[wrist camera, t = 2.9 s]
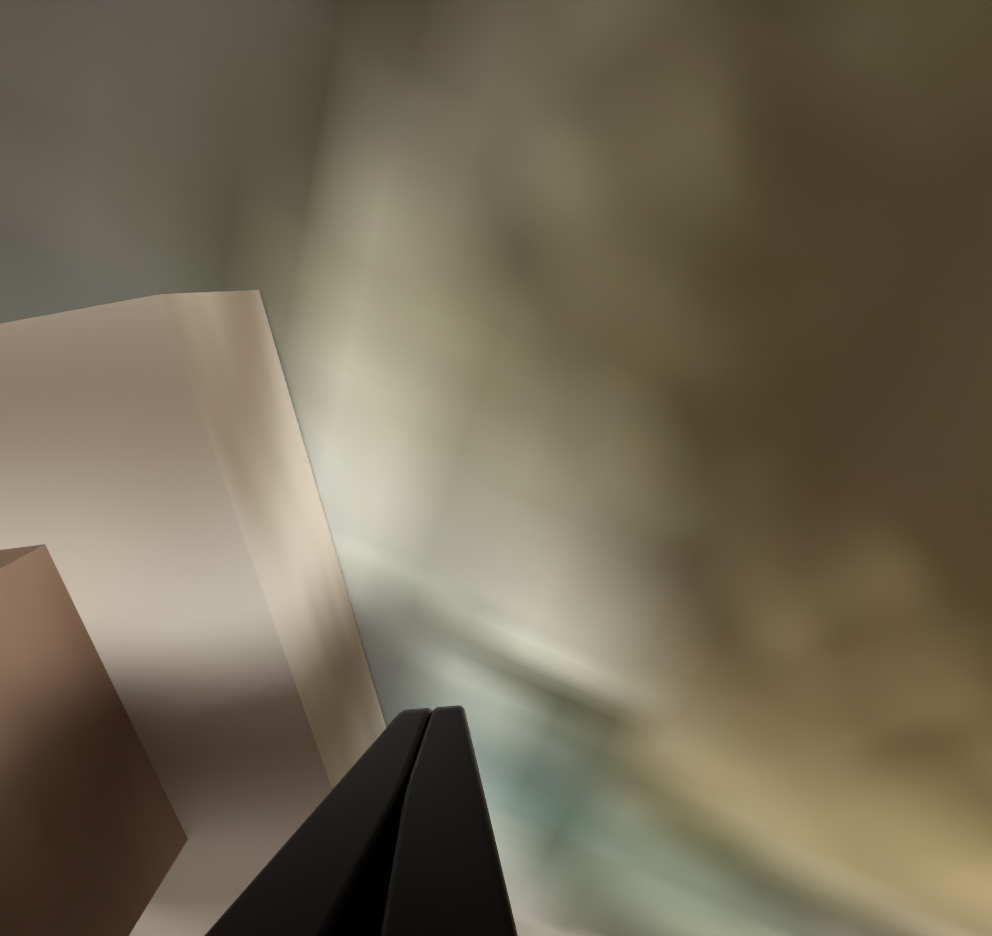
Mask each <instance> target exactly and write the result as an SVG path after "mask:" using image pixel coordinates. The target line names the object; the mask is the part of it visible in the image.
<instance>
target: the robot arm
mask: <svg viewBox="0 0 992 936" xmlns="http://www.w3.org/2000/svg"><path fill="white" fill-rule="evenodd" d="M204 936H518V935H517V931H516V926H515V922H514V918H513V914H512V909H511V905H510V901H509V897H508V893H507V888H506V884H505V880H504V876H503V871H502V867H501V863H500V859H499V854H498V850H497V846H496V842H495V837H494V833H493V829H492V825H491V820H490V816H489V812H488V808H487V803H486V799H485V795H484V791H483V786H482V782H481V778H480V774H479V769H478V765H477V761H476V757H475V753H474V748H473V744H472V740H471V736H470V731H469V727H468V723H467V719H466V714H465V710H464V708H463V707H462V706H447V707H437V708H435V709H434V710H433V711H432V710H431V709H429V708H422V709H409V710H404V711H402V712H400V713H399V714H398V715H397V716H396V717H395V718H394V720H393V721H392V722H391V723H390V724H389V725H388V726H387V728H386V729H385V730H384V731H383V732H382V733H381V734H380V736H379V737H378V738H377V739H376V740H375V741H374V742H373V744H372V745H371V746H370V747H369V748H368V749H367V750H366V752H365V753H364V754H363V755H362V756H361V757H360V758H359V760H358V761H357V762H356V763H355V764H354V765H353V766H352V768H351V769H350V770H349V771H348V772H347V773H346V774H345V776H344V777H343V778H342V779H341V780H340V781H339V782H338V784H337V785H336V786H335V787H334V788H333V789H332V790H331V792H330V793H329V794H328V795H327V796H326V797H325V798H324V800H323V801H322V802H321V803H320V804H319V805H318V806H317V808H316V809H315V810H314V811H313V812H312V813H311V814H310V816H309V817H308V818H307V819H306V820H305V821H304V822H303V824H302V825H301V826H300V827H299V828H298V829H297V830H296V832H295V833H294V834H293V835H292V836H291V837H290V838H289V840H288V841H287V842H286V843H285V844H284V845H283V846H282V847H281V849H280V850H279V851H278V852H277V853H276V854H275V855H274V857H273V858H272V859H271V860H270V861H269V862H268V863H267V865H266V866H265V867H264V868H263V869H262V870H261V871H260V873H259V874H258V875H257V876H256V877H255V878H254V879H253V881H252V882H251V883H250V884H249V885H248V886H247V887H246V889H245V890H244V891H243V892H242V893H241V894H240V895H239V897H238V898H237V899H236V900H235V901H234V902H233V903H232V905H231V906H230V907H229V908H228V909H227V910H226V911H225V913H224V914H223V915H222V916H221V917H220V918H219V919H218V921H217V922H216V923H215V924H214V925H213V926H212V927H211V929H210V930H209V931H208V932H207V933H206V934H205V935H204Z"/></svg>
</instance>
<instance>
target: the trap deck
mask: <svg viewBox="0 0 992 936" xmlns="http://www.w3.org/2000/svg"><path fill="white" fill-rule="evenodd" d="M42 544H45V545H46V547H47V549H48V551H49V553H50V555H51V557H52V559H53V562H54V564H55V566H56V568H57V570H58V572H59V574H60V576H61V578H62V580H63V582H64V584H65V586H66V588H67V590H68V592H69V595H70V597H71V599H72V601H73V603H74V605H75V607H76V609H77V611H78V613H79V615H80V617H81V619H82V621H83V623H84V626H85V628H86V630H87V632H88V634H89V636H90V638H91V640H92V642H93V644H94V646H95V648H96V650H97V652H98V654H99V657H100V659H101V661H102V663H103V665H104V667H105V669H106V671H107V673H108V675H109V677H110V679H111V681H112V683H113V685H114V688H115V690H116V692H117V694H118V696H119V698H120V700H121V702H122V704H123V706H124V708H125V710H126V712H127V714H128V716H129V719H130V721H131V723H132V725H133V727H134V729H135V731H136V733H137V735H138V737H139V739H140V741H141V743H142V745H143V747H144V750H145V752H146V754H147V756H148V758H149V760H150V762H151V764H152V766H153V768H154V770H155V772H156V774H157V776H158V778H159V781H160V783H161V785H162V787H163V789H164V791H165V793H166V795H167V797H168V799H169V801H170V803H171V805H172V807H173V809H174V812H175V814H176V816H177V818H178V820H179V822H180V824H181V826H182V828H183V830H184V832H185V834H186V836H187V838H188V840H187V842H186V844H185V845H184V847H183V848H182V850H181V852H180V853H179V855H178V857H177V858H176V860H175V861H174V863H173V865H172V866H171V868H170V870H169V871H168V873H167V875H166V876H165V878H164V879H163V881H162V883H161V884H160V886H159V888H158V889H157V891H156V892H155V894H154V896H153V897H152V899H151V901H150V902H149V904H148V906H147V907H146V909H145V910H144V912H143V914H142V915H141V917H140V919H139V920H138V922H137V923H136V925H135V927H134V928H133V930H132V932H131V933H130V935H129V936H204V935H205V934H206V933H207V932H208V931H209V930H210V929H211V927H212V926H213V925H214V924H215V923H216V922H217V921H218V919H219V918H220V917H221V916H222V915H223V914H224V913H225V911H226V910H227V909H228V908H229V907H230V906H231V905H232V903H233V902H234V901H235V900H236V899H237V898H238V897H239V895H240V894H241V893H242V892H243V891H244V890H245V889H246V887H247V886H248V885H249V884H250V883H251V882H252V881H253V879H254V878H255V877H256V876H257V875H258V874H259V873H260V871H261V870H262V869H263V868H264V867H265V866H266V865H267V863H268V862H269V861H270V860H271V859H272V858H273V857H274V855H275V854H276V853H277V852H278V851H279V850H280V849H281V847H282V846H283V845H284V844H285V843H286V842H287V841H288V840H289V838H290V837H291V836H292V835H293V834H294V833H295V832H296V830H297V829H298V828H299V827H300V826H301V825H302V824H303V822H304V821H305V820H306V819H307V818H308V817H309V816H310V814H311V813H312V812H313V811H314V810H315V809H316V808H317V806H318V805H319V804H320V803H321V802H322V801H323V800H324V798H325V797H326V796H327V795H328V794H329V793H330V792H331V790H332V789H333V788H334V787H335V786H336V785H337V784H338V782H339V781H340V780H341V779H342V778H343V777H344V776H345V774H346V773H347V772H348V771H349V770H350V769H351V768H352V766H353V765H354V764H355V763H356V762H357V761H358V760H359V758H360V757H361V756H362V755H363V754H364V753H365V752H366V750H367V749H368V748H369V747H370V746H371V745H372V744H373V742H374V741H375V740H376V739H377V738H378V737H379V736H380V734H381V733H382V732H383V731H384V730H385V729H386V725H385V722H384V718H383V715H382V711H381V708H380V704H379V701H378V698H377V694H376V691H375V687H374V684H373V680H372V677H371V674H370V670H369V667H368V663H367V660H366V656H365V653H364V650H363V646H362V643H361V639H360V636H359V632H358V629H357V625H356V622H355V619H354V615H353V612H352V608H351V605H350V601H349V598H348V595H347V591H346V588H345V584H344V581H343V577H342V574H341V570H340V567H339V564H338V560H337V557H336V553H335V550H334V546H333V543H332V540H331V536H330V533H329V529H328V526H327V522H326V519H325V516H324V512H323V509H322V505H321V502H320V498H319V495H318V491H317V488H316V485H315V481H314V478H313V474H312V471H311V467H310V464H309V461H308V457H307V454H306V450H305V447H304V443H303V440H302V437H301V433H300V430H299V426H298V423H297V419H296V416H295V412H294V409H293V406H292V402H291V399H290V395H289V392H288V388H287V385H286V382H285V378H284V375H283V371H282V368H281V364H280V361H279V358H278V354H277V351H276V347H275V344H274V340H273V337H272V333H271V330H270V327H269V323H268V320H267V316H266V313H265V309H264V306H263V303H262V299H261V296H260V292H259V290H246V291H223V292H201V293H179V294H159V295H153V296H148V297H142V298H137V299H132V300H126V301H121V302H115V303H110V304H104V305H99V306H94V307H88V308H83V309H77V310H72V311H66V312H61V313H55V314H50V315H45V316H39V317H34V318H28V319H23V320H17V321H12V322H7V323H1V324H0V550H4V549H11V548H19V547H27V546H34V545H42Z"/></svg>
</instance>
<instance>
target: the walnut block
mask: <svg viewBox="0 0 992 936" xmlns="http://www.w3.org/2000/svg"><path fill="white" fill-rule="evenodd" d="M187 840H188V838H187V836H186V834H185V832H184V830H183V828H182V826H181V824H180V822H179V820H178V818H177V816H176V814H175V812H174V809H173V807H172V805H171V803H170V801H169V799H168V797H167V795H166V793H165V791H164V789H163V787H162V785H161V783H160V781H159V778H158V776H157V774H156V772H155V770H154V768H153V766H152V764H151V762H150V760H149V758H148V756H147V754H146V752H145V750H144V747H143V745H142V743H141V741H140V739H139V737H138V735H137V733H136V731H135V729H134V727H133V725H132V723H131V721H130V719H129V716H128V714H127V712H126V710H125V708H124V706H123V704H122V702H121V700H120V698H119V696H118V694H117V692H116V690H115V688H114V685H113V683H112V681H111V679H110V677H109V675H108V673H107V671H106V669H105V667H104V665H103V663H102V661H101V659H100V657H99V654H98V652H97V650H96V648H95V646H94V644H93V642H92V640H91V638H90V636H89V634H88V632H87V630H86V628H85V626H84V623H83V621H82V619H81V617H80V615H79V613H78V611H77V609H76V607H75V605H74V603H73V601H72V599H71V597H70V595H69V592H68V590H67V588H66V586H65V584H64V582H63V580H62V578H61V576H60V574H59V572H58V570H57V568H56V566H55V564H54V562H53V559H52V557H51V555H50V553H49V551H48V549H47V547H46V545H45V544H42V545H34V546H27V547H19V548H11V549H4V550H0V936H129V935H130V933H131V932H132V930H133V928H134V927H135V925H136V923H137V922H138V920H139V919H140V917H141V915H142V914H143V912H144V910H145V909H146V907H147V906H148V904H149V902H150V901H151V899H152V897H153V896H154V894H155V892H156V891H157V889H158V888H159V886H160V884H161V883H162V881H163V879H164V878H165V876H166V875H167V873H168V871H169V870H170V868H171V866H172V865H173V863H174V861H175V860H176V858H177V857H178V855H179V853H180V852H181V850H182V848H183V847H184V845H185V844H186V842H187Z"/></svg>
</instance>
